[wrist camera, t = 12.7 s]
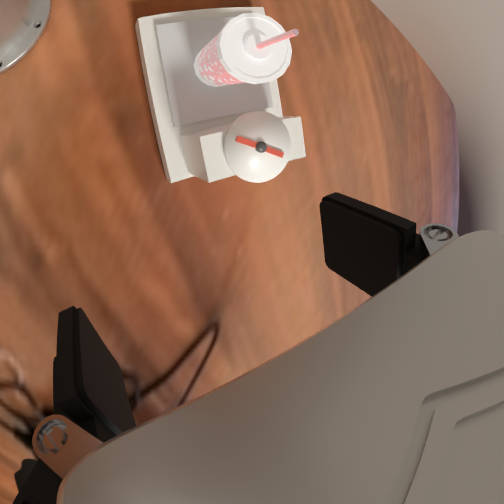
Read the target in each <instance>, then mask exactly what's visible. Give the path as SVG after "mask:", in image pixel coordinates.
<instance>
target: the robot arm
mask: <svg viewBox="0 0 504 504" xmlns="http://www.w3.org/2000/svg"><path fill="white" fill-rule="evenodd" d="M50 11H51V0H0V64H2V66H1V67H0V73H1V72H4V71H5V70H7V69H9V68H10V67H12V66H13V65H15V64H16V63H17V62H18V61H20V60H21V59H22V58H23V57H24V56H25V55H26V54H27V53H28V52H29V51H30V50H31V49H32V48H33V46H34V45H35V44H36V42H37V41H38V40H39V38H40V36H41V35H42V33H43V31H44V29H45V27H46V25H47V22H48V20H49V15H50ZM38 25H41V26H40V27H39V28H37V26H38ZM320 215H321V224H322V233H323V243H324V254H325V262H326V265H327V266H328V268H329V269H331V270H332V271H334V272H335V273H337V274H339V275H340V276H342V277H343V278H345V279H346V280H348V281H349V282H351V283H352V284H354V285H355V286H357V287H358V288H360V289H361V290H363V291H364V292H366V293H367V294H369V295H370V296H372V297H371V298H369V299H368V300H366V301H365V302H363V303H362V304H360V305H359V306H357V307H356V308H354V309H353V310H351V311H350V312H348V313H347V314H345V315H344V316H342V317H340V318H339V319H337V320H336V321H334V322H333V323H331V324H329V325H328V326H326V327H325V328H323V329H321V330H320V331H318V332H316V333H315V334H313V335H312V336H310V337H308V338H307V339H305V340H303V341H302V342H300V343H298V344H296V345H295V346H293V347H291V348H290V349H288V350H286V351H284V352H283V353H281V354H279V355H277V356H276V357H274V358H272V359H270V360H269V361H267V362H265V363H263V364H261V365H260V366H258V367H256V368H254V369H252V370H250V371H249V372H247V373H245V374H243V375H241V376H239V377H237V378H235V379H234V380H232V381H230V382H228V383H226V384H224V385H222V386H220V387H218V388H216V389H214V390H212V391H210V392H208V393H206V394H204V395H202V396H200V397H198V398H196V399H194V400H191V401H189V402H187V403H185V404H183V405H181V406H179V407H177V408H175V409H172V410H170V411H168V412H166V413H164V414H162V415H159V416H157V417H155V418H153V419H151V420H149V421H147V422H145V423H143V424H140V425H138V426H136V424H135V421H134V417H133V414H132V410H131V407H130V403H129V400H128V396H127V392H126V388H125V384H124V380H123V376H122V372H121V369H120V367H119V365H118V363H117V361H116V360H115V359H114V357H113V356H112V354H111V353H110V351H109V350H108V348H107V347H106V345H105V344H104V343H103V341H102V340H101V338H100V336H99V335H98V333H97V332H96V330H95V329H94V327H93V326H92V324H91V322H90V321H89V319H88V318H87V316H86V314H85V313H84V311H83V310H82V308H78V309H76V308H75V307H74V306H72V307H70V308H68V309H65V310H63V311H61V312H59V317H58V332H57V356H56V357H55V358H54V361H53V402H54V415H51V416H48V417H47V418H45V419H44V420H42V421H41V423H40V424H39V425H38V426H37V428H36V430H35V432H34V435H33V443H32V444H33V448H34V451H35V453H36V454H37V456H38V457H39V460H38V461H37V463H36V465H35V466H34V468H33V469H32V471H31V473H30V475H29V476H28V478H27V479H26V481H25V483H24V484H23V486H22V488H21V490H20V491H19V493H18V495H17V496H16V498H15V500H14V502H13V504H504V235H502V234H499V233H497V232H493V231H489V230H486V231H485V230H484V231H476V232H472V233H469V234H465V235H463V236H461V237H459V236H458V235H457V233H456V232H455V231H454V230H453V229H452V228H451V227H449V226H446V225H443V224H436V223H432V224H427V225H424V226H423V227H422V228H421V229H420V235H419V234H417V233H416V223H415V222H412V221H410V220H407V219H405V218H402V217H400V216H398V215H395V214H393V213H390V212H388V211H385V210H382V209H380V208H377V207H375V206H372V205H370V204H367V203H364V202H362V201H359V200H356V199H354V198H351V197H348V196H345V195H343V194H340V193H336V192H335V193H332V194H330V195H327V196H325V197H323V198H322V202H321V203H320Z"/></svg>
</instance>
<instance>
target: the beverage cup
mask: <svg viewBox="0 0 504 504" xmlns="http://www.w3.org/2000/svg"><path fill="white" fill-rule="evenodd" d="M298 34H299V32H298V30H297V29H293V30H290V31H288V32H285V31H284V29H283V27H282V26H281V25H280V24H278V23H277V22H276V21H275V20H273V19H272V18H271V17H268V16H265V15H262V14H259V13H243V14H241V15H239V16H237V17H235V18H233V19H231V20H229V22H227V23H226V24H225V26H224V27H223V28H222V30H221V31H220V32H219V34H218V35H217V36H216V37H215V38H214V39H212V40H211V41H210V42H209V43H208V44H207V45H206V46H205V47H204V48H203V49H202V50H201V51H200V52H199V53H198V55H197V56H196V58H195V63H194V68H195V73H196V75H197V76H198V78H199V79H200V80H201V81H202V82H204V83H205V84H207V85H210V86H215V87H218V86H224V85H231V84H238V83H245V82H246V83H251V84H260V83H266V82H272V81H274V80H275V79H277V78H278V77H280V76H281V75H283V74H284V72H285V71H286V69H287V67H288V66H289V64H290V60H291V54H292V49H291V44H290V40H289V38H291V37H294V36H297V35H298Z"/></svg>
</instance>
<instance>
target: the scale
mask: <svg viewBox="0 0 504 504" xmlns="http://www.w3.org/2000/svg"><path fill="white" fill-rule="evenodd" d="M243 13H259V14H262V15H265V12H264V7H232V8H212V9H199V10H189V11H180V12H172V13H165V14H159V15H152V16H147V17H141V18H138V19H137V22H136V25H135V28H136V35H137V41H138V47H139V52H140V58H141V64H142V69H143V75H144V80H145V85H146V90H147V95H148V100H149V105H150V110H151V115H152V119H153V124H154V128H155V133H156V137H157V142H158V146H159V150H160V155H161V159H162V163H163V167H164V171H165V175H166V179H167V180H168V181H169V182H171V183H173V182H176V181H180V180H183V179H186V178H189V177H193V176H196V177H198V178H200V179H202V180H205V181H207V182H209V183H210V182H213V181H216V180H220V179H223V178H227V177H230V176H234V175H237V176H238V177H240V178H241V179H244V180H246V181H249V182H255V183H260V182H266V181H268V180H271V179H273V178H274V177H276V176H277V175H278V174H279V173H280V172H281V171H282V170H283V169H284V167H285V166H286V164H287V162H288V161H290V160H294V159H298V158H302V157H306V154H305V146H304V138H303V130H302V123H301V117H290V116H285V117H283V116H282V109H281V103H280V96H279V90H278V84H277V79H275V80H274V81H272V82H266V83H260V84H251V83H246V82H245V83H238V84H231V85H224V86H218V87H215V86H210V85H207V84H205V83H204V82H202V81H201V80H200V79H199V78H198V76H197V75H196V73H195V68H194V63H195V58H196V56H197V55H198V53H199V52H200V51H201V50H202V49H203V48H204V47H205V46H206V45H207V44H208V43H209V42H210V41H211V40H212V39H214V38H215V37H216V36H217V35H218V34H219V32H220V31H221V30H222V28H223V27H224V26H225V24H226V23H227V22H229V20H231V19H233V18H235V17H237V16H239V15H241V14H243Z"/></svg>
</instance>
